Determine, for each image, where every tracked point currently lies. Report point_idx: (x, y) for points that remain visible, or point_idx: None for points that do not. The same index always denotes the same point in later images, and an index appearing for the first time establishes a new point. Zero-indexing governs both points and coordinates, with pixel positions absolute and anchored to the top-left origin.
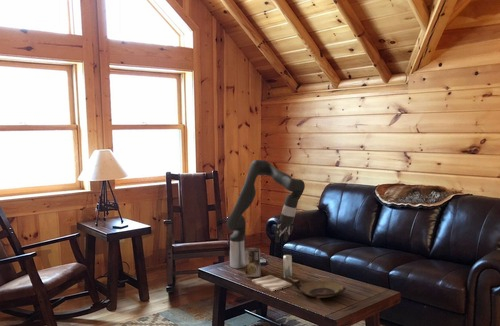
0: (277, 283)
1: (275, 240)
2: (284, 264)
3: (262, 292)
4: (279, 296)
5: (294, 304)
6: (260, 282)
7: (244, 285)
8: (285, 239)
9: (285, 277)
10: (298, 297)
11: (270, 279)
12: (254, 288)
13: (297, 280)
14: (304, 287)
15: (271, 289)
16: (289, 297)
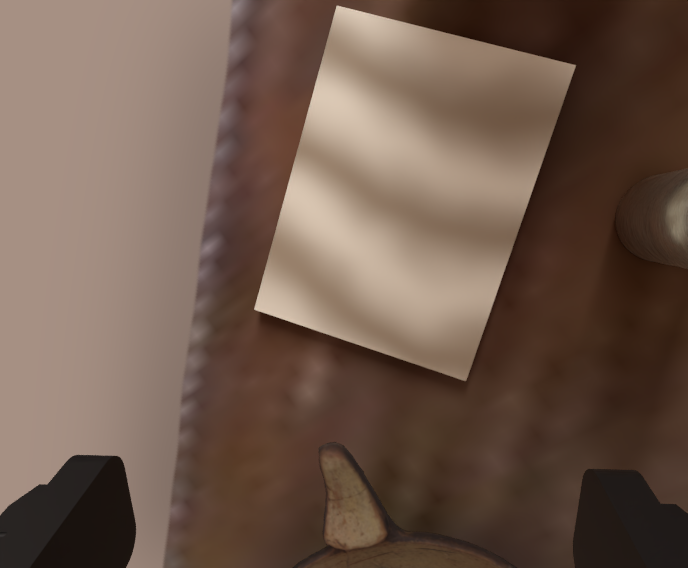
0: (399, 267)
1: (27, 502)
2: (676, 205)
3: (201, 253)
4: (215, 407)
5: (164, 562)
6: (329, 121)
7: (232, 22)
8: (591, 552)
9: (618, 220)
10: (282, 533)
11: (453, 148)
12: (229, 143)
13: (340, 545)
14: (389, 556)
15: (257, 300)
16: (243, 478)
